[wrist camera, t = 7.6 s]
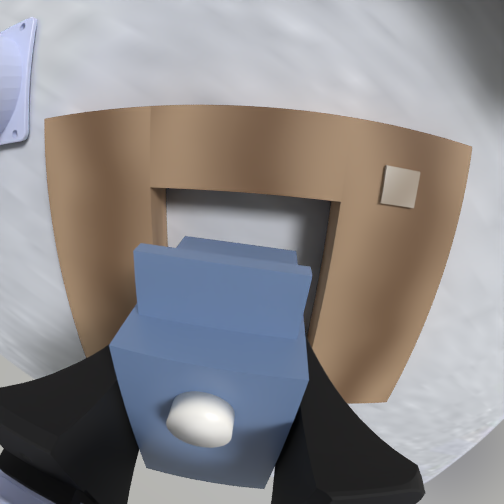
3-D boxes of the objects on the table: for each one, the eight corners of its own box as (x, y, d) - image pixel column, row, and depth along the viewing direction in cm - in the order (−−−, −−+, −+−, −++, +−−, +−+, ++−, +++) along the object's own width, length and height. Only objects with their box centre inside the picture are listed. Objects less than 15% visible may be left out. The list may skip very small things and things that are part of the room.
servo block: (185, 379, 14) (149, 495, 8) (186, 192, 10) (79, 294, 4) (266, 391, 14) (256, 514, 8) (303, 208, 10) (336, 336, 4)
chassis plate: (101, 351, 20) (89, 370, 18) (67, 116, 13) (42, 119, 11) (380, 381, 19) (386, 403, 17) (451, 141, 12) (474, 147, 10)
